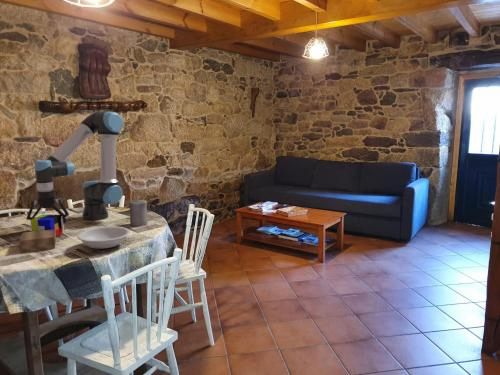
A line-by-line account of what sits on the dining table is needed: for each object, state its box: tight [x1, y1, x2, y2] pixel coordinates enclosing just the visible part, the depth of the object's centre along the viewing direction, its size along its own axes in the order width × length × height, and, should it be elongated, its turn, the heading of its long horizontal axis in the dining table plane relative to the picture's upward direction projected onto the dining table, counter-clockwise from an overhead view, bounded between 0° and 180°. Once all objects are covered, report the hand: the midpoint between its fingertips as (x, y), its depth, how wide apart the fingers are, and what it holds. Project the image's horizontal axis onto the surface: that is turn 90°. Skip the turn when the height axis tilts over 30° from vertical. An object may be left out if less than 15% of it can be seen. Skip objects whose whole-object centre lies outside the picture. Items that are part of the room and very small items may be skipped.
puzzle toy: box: [30, 213, 64, 238], centre depth 199 cm, size 10×10×10 cm
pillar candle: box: [128, 199, 148, 227], centre depth 223 cm, size 10×10×15 cm
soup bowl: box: [76, 226, 131, 250], centre depth 185 cm, size 24×24×7 cm
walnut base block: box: [19, 229, 57, 254], centre depth 185 cm, size 14×14×6 cm
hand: (49, 230), depth 201 cm, fingers closed on puzzle toy, 12 cm apart
